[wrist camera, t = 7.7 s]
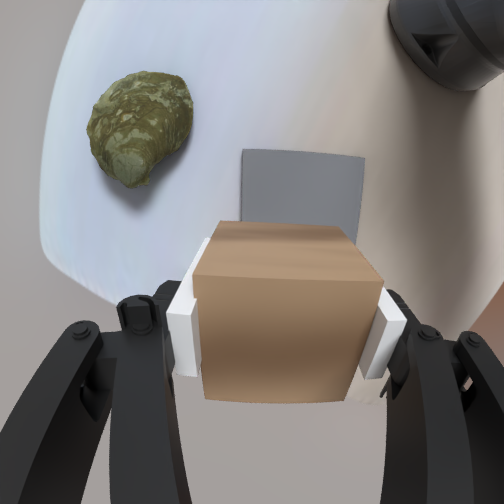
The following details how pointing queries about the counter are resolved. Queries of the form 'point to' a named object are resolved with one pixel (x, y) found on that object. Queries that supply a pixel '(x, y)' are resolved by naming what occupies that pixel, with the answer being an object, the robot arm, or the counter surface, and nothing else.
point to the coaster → (302, 188)
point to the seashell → (139, 124)
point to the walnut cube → (282, 312)
